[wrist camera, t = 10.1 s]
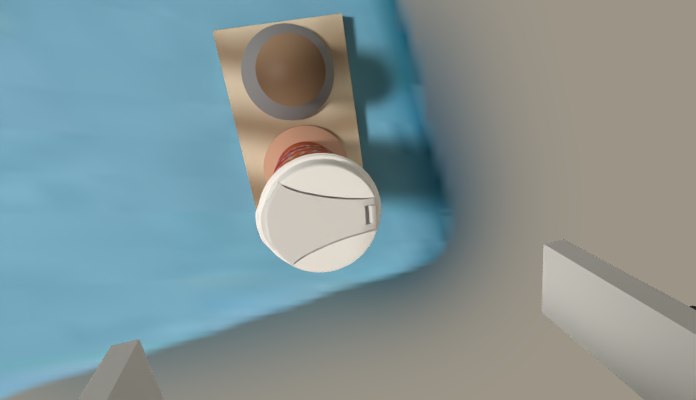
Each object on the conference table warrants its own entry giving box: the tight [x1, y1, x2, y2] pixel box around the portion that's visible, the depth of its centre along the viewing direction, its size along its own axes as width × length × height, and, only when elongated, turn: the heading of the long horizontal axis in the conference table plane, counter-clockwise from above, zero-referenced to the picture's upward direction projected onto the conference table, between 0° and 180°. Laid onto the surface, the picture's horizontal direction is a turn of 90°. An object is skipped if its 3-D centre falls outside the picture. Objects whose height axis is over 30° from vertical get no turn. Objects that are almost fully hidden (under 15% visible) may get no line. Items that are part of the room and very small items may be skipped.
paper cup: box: [255, 142, 381, 272], centre depth 28 cm, size 8×8×14 cm
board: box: [213, 13, 363, 210], centre depth 34 cm, size 17×11×1 cm, turn 8°
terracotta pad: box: [264, 125, 347, 183], centre depth 35 cm, size 8×8×1 cm
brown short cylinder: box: [255, 33, 326, 107], centre depth 29 cm, size 5×5×6 cm
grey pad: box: [241, 23, 334, 120], centre depth 32 cm, size 8×8×1 cm
